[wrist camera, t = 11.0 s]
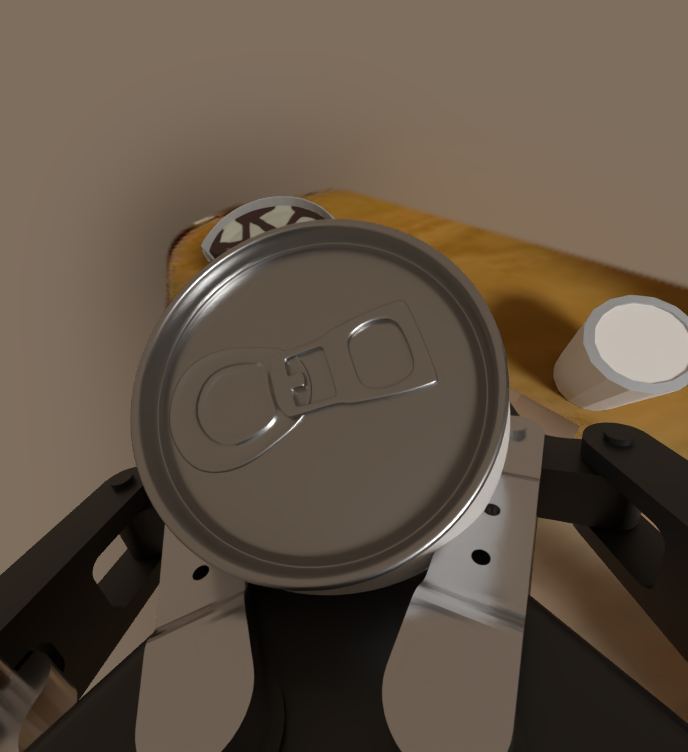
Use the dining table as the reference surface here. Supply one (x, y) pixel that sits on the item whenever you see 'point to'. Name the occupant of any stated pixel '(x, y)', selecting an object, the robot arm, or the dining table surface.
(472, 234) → the dining table surface
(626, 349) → the white short cylinder
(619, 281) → the dining table surface
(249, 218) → the food container
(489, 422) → the can
